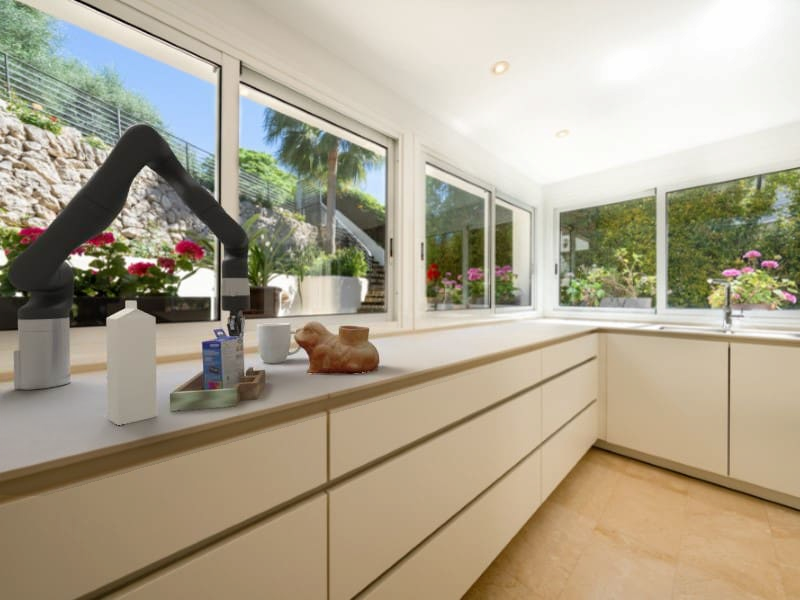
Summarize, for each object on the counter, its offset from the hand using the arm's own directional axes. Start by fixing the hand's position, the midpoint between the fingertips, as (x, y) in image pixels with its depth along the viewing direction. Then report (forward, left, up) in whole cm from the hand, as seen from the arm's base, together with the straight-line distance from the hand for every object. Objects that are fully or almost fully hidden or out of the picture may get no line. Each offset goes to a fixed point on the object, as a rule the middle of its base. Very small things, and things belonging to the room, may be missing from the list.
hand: (237, 353), depth 102 cm
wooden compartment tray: (+2, -21, -6) cm, 22 cm away
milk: (-12, -35, -6) cm, 37 cm away
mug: (+10, +17, -6) cm, 21 cm away
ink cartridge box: (0, -14, -6) cm, 16 cm away
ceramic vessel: (+29, -2, -6) cm, 29 cm away
